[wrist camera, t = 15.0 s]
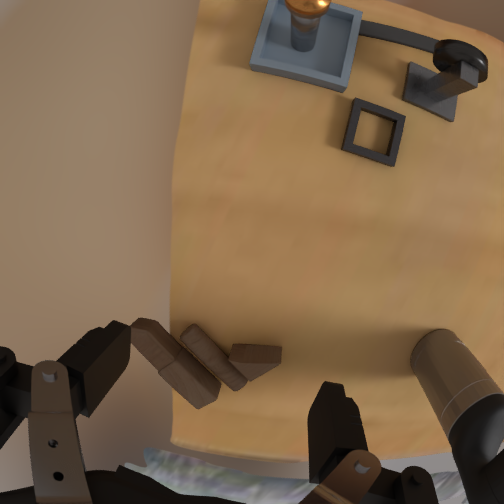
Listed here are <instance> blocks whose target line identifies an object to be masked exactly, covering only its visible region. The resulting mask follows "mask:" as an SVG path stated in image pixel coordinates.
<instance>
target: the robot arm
mask: <svg viewBox="0 0 504 504" xmlns="http://www.w3.org/2000/svg"><path fill="white" fill-rule="evenodd" d="M130 344H131V327H130V326H128V325H126V324H123V323H120V322H118V321H115V320H113V321H112V322H110V323H109V324H108V325H107V326H106V327H105V328H101V327H98V328H95V329H93V330H90V331H88V332H87V333H86V334H85V335H84V336H83V337H82V339H80V340H78V341H77V343H76V344H74V345H73V346H72V347H71V348H70V349H69V350H67V351H66V352H65V353H64V354H63V355H62V356H61V357H60V358H59V359H58V360H57V361H53V360H45V361H41V362H39V363H37V364H36V365H35V366H30V365H26V364H23V363H19V362H17V361H16V357H15V354H14V352H13V351H11V350H10V349H9V348H6V347H1V346H0V449H1V448H2V447H3V445H4V444H5V443H6V441H7V440H8V439H9V438H10V436H11V435H12V434H13V432H14V431H15V430H16V429H17V427H18V426H19V425H20V423H21V422H22V421H23V420H24V418H25V417H26V418H28V431H29V432H28V433H29V447H30V459H31V468H32V476H33V482H34V486H30V487H26V488H21V489H17V490H12V491H7V492H1V493H0V504H246V503H241V502H236V501H231V500H227V499H222V498H218V497H210V496H194V495H183V494H178V493H176V492H174V491H172V490H171V489H169V488H167V487H165V486H164V485H162V484H160V483H159V482H157V481H155V480H154V479H152V478H150V477H148V476H146V475H143V474H141V473H138V472H135V471H133V470H130V469H128V468H126V467H123V466H121V465H119V467H118V468H117V470H116V472H114V471H106V470H92V471H87V470H86V467H85V463H84V459H83V454H82V450H81V445H80V441H79V436H78V430H77V425H76V418H77V416H78V415H79V414H82V415H84V416H86V417H88V418H89V417H90V416H91V414H92V413H93V411H94V410H95V409H96V408H97V406H98V405H99V403H100V402H101V401H102V399H103V398H104V397H105V395H106V394H107V393H108V391H109V390H110V389H111V387H112V386H113V385H114V383H115V382H116V381H117V380H118V378H119V377H120V376H121V374H122V373H123V372H124V370H125V369H126V367H127V365H128V362H129V359H130ZM411 367H412V369H413V371H414V373H415V375H416V377H417V379H418V380H419V383H420V384H421V386H422V388H423V390H424V392H425V394H426V396H427V398H428V400H429V402H430V404H431V406H432V408H433V410H434V412H435V414H436V416H437V418H438V420H439V422H440V424H441V426H442V428H443V430H444V432H445V434H446V436H447V439H448V441H449V443H450V445H451V447H452V454H453V457H454V460H455V463H456V465H457V468H458V471H459V473H460V476H461V479H462V483H463V486H464V489H465V493H466V496H467V499H468V502H469V504H504V449H503V450H502V451H501V452H500V453H499V454H498V455H497V452H498V449H499V447H500V445H501V443H502V441H503V439H504V393H503V392H502V391H501V389H500V388H499V387H498V385H497V384H496V383H495V382H494V380H493V379H492V378H491V377H490V375H489V374H488V373H487V371H486V370H485V368H484V367H483V366H482V365H481V363H480V362H479V361H478V360H477V359H476V357H475V356H474V355H473V354H472V353H471V352H470V350H469V349H468V348H467V347H466V346H465V344H464V343H463V342H462V341H461V340H460V339H459V338H458V337H457V336H456V335H455V334H454V333H453V332H452V331H450V330H446V329H440V330H436V331H434V332H431V333H429V334H428V335H426V336H425V337H424V338H423V339H422V340H421V341H420V342H419V343H418V344H417V345H416V347H415V349H414V350H413V353H412V356H411ZM308 447H309V483H316V484H319V485H317V486H316V487H315V488H314V489H313V490H312V491H311V492H310V493H309V494H308V495H307V496H306V497H305V498H304V499H303V500H302V501H300V502H299V503H298V504H439V503H438V499H437V495H436V491H435V487H434V484H433V480H432V477H431V475H430V474H429V473H428V472H427V471H426V470H425V469H423V468H421V467H418V466H410V467H407V468H405V469H404V470H403V471H402V473H399V472H395V471H392V470H388V469H385V468H383V467H381V463H380V461H379V459H378V458H377V457H376V456H375V455H374V454H372V453H370V452H369V451H368V447H367V442H366V438H365V433H364V429H363V426H362V421H361V418H360V412H359V408H358V406H357V405H356V403H355V402H354V400H353V399H352V398H349V397H346V395H345V391H344V386H343V385H342V384H338V383H332V382H327V381H325V382H324V383H323V384H322V386H321V388H320V390H319V392H318V394H317V396H316V398H315V400H314V402H313V404H312V406H311V408H310V411H309V414H308ZM496 455H497V456H496Z"/></svg>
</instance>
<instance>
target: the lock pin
mask: <svg viewBox="0 0 504 504" xmlns="http://www.w3.org/2000/svg"><path fill="white" fill-rule="evenodd" d="M284 2H285V6H286V8H287V9H288V10H289V11H290V12H291V37H290V42H291V45H292V47H293V48H294V49H295V50H297V51H299V52H308V51H311V50H312V49H313V48H314V46H315V43H316V38H317V33H318V29H319V24H320V19H321V16H323V15H325V14H326V13H327V11H328V10H329V7H330V3H331V0H284Z"/></svg>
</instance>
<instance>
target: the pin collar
mask: <svg viewBox="0 0 504 504" xmlns="http://www.w3.org/2000/svg"><path fill="white" fill-rule="evenodd" d="M361 110H362V111H365V112H368V113H371V114H374V115H376V116H379V117H382V118H385V119H387V120H390V121H392V122H394V123H393V128H392V132H391V137H390V141H389V145H388V149H387V154H386V155H383V154H381V153H378V152H375V151H372V150H369V149H366V148H364V147H361V146H358V145H355V144H353V141H354V136H355V132H356V128H357V124H358V120H359V115H360V111H361ZM405 118H406V116H404V115H401V114H399V113H396V112H394V111H391V110H389V109H386V108H384V107H381V106H378V105H375V104H373V103H370V102H367V101H364V100H361V99H358V98H355V99H354V100H353V102H352V107H351V111H350V115H349V119H348V124H347V128H346V132H345V136H344V140H343V144H342V148H341V150H343V151H346V152H350V153H353V154H356V155H359V156H362V157H365V158H368V159H371V160H373V161H376V162H379V163H382V164H385V165H387V166H390V167H394V166H395V162H396V158H397V154H398V150H399V145H400V141H401V137H402V132H403V127H404V123H405Z"/></svg>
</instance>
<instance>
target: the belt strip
mask: <svg viewBox="0 0 504 504" xmlns="http://www.w3.org/2000/svg"><path fill="white" fill-rule="evenodd" d="M358 35H362V36H367V37H372V38H377V39H382V40H386V41H390V42H394V43H398V44H402V45H406V46H410V47H413V48H417V49H420V50H423V51H427V52H430V53H433V54H434V46H435V44H436V43H437V42H438V41H439V40H436V39H433V38H430V37H427V36H424V35H421V34H417V33H414V32H410V31H407V30H403V29H399V28H396V27H392V26H388V25H383V24H379V23H374V22H370V21H365V20H361V23H360V29H359V34H358Z"/></svg>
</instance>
